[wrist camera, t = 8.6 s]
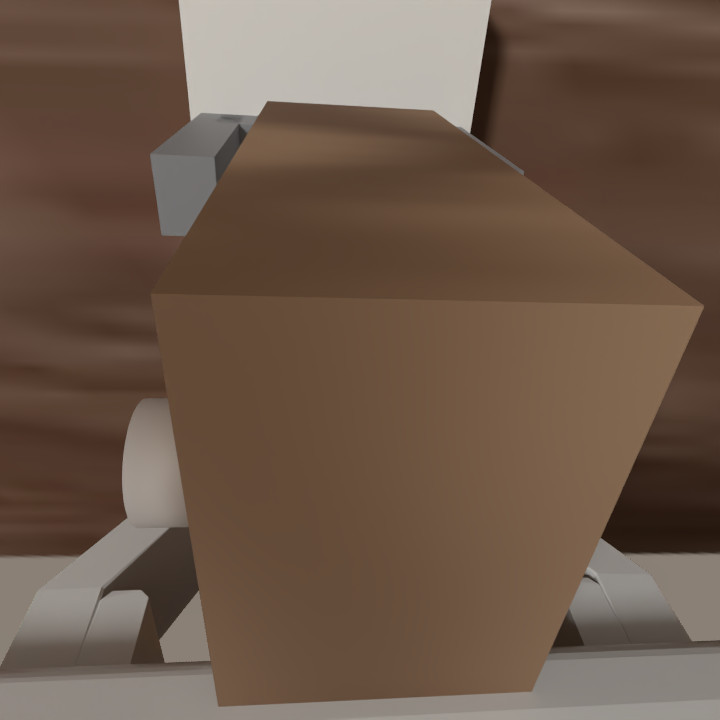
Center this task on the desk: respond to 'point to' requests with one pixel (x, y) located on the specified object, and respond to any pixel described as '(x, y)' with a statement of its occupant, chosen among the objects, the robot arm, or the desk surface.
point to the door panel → (392, 408)
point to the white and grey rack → (310, 75)
